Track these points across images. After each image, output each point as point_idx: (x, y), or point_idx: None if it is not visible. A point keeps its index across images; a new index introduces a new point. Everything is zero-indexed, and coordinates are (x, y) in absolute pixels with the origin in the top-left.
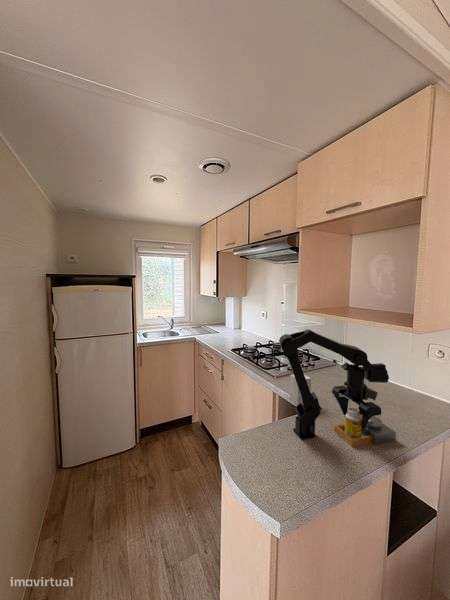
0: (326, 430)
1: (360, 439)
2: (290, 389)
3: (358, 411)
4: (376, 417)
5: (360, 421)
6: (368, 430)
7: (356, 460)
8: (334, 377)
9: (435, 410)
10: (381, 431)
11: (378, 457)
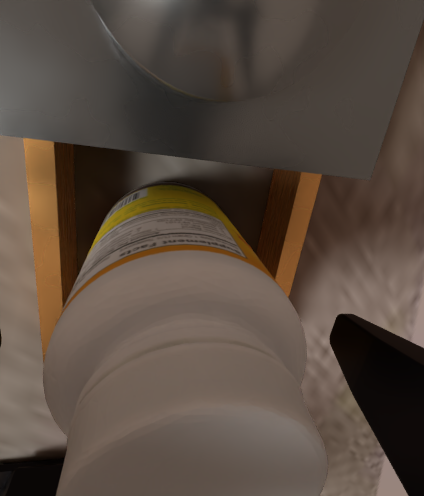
0: (39, 371)
1: (286, 294)
2: None
3: (291, 453)
4: None
5: (403, 465)
6: (279, 165)
7: (334, 372)
8: None
9: None
10: (371, 19)
11: (389, 253)
